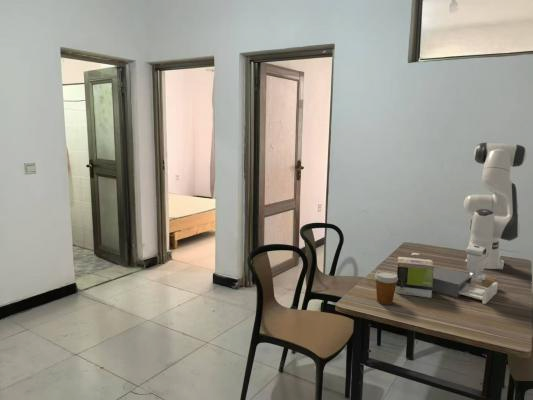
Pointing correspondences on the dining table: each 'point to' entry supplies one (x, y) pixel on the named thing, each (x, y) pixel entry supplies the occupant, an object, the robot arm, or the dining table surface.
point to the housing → (449, 281)
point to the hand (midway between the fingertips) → (477, 277)
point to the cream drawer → (478, 291)
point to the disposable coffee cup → (385, 286)
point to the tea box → (414, 277)
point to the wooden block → (488, 281)
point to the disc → (479, 275)
